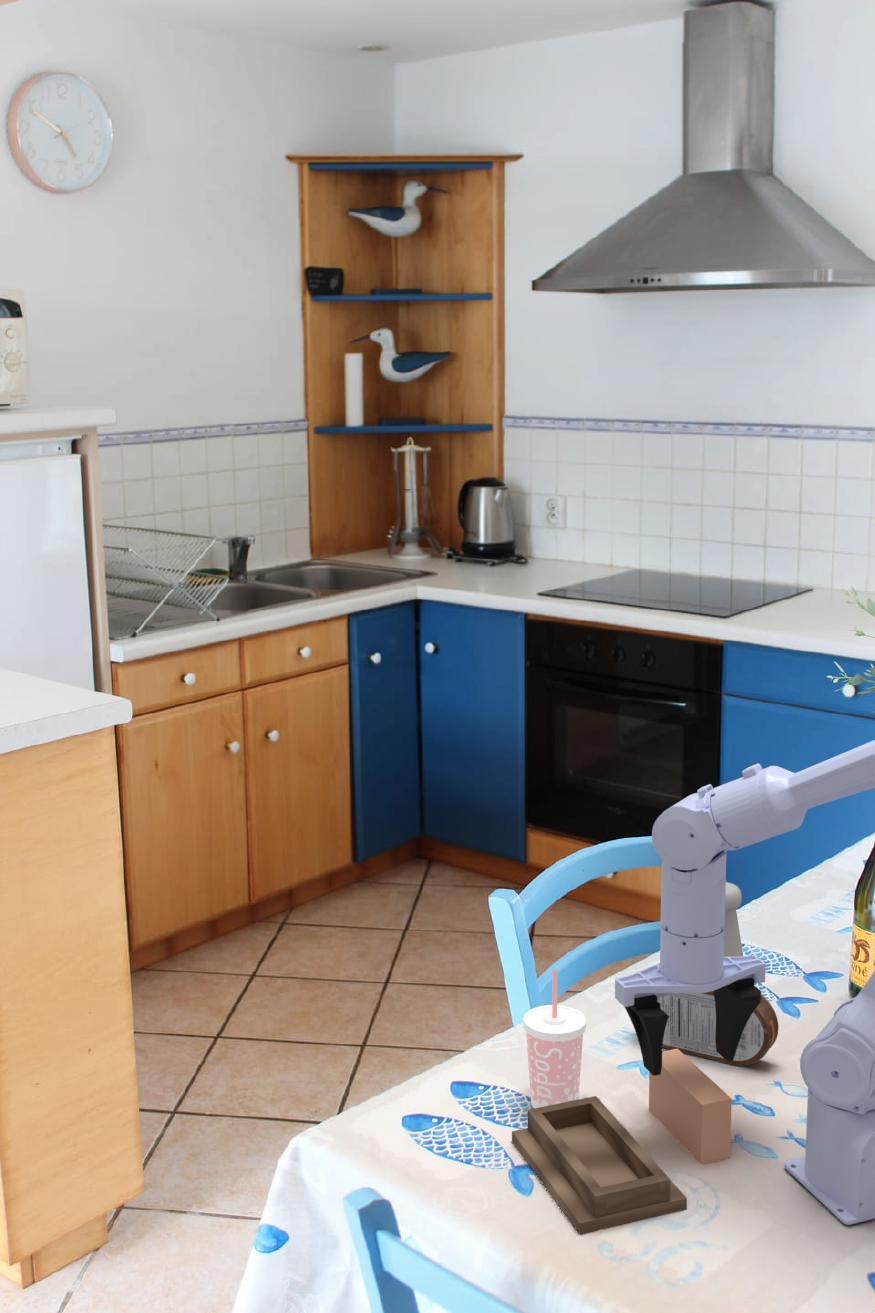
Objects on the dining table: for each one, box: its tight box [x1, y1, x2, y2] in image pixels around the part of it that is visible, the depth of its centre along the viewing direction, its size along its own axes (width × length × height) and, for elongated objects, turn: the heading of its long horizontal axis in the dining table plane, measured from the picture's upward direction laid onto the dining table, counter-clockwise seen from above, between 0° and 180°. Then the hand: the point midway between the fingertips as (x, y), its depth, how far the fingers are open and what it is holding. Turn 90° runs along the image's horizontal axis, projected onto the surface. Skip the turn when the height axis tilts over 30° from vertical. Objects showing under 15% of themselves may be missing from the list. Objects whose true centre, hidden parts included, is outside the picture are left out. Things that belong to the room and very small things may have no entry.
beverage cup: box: [522, 969, 587, 1109], centre depth 132 cm, size 6×6×14 cm
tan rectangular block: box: [648, 1049, 733, 1165], centre depth 127 cm, size 10×3×6 cm, turn 19°
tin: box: [657, 991, 779, 1067], centre depth 142 cm, size 15×3×8 cm, turn 60°
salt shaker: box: [724, 881, 744, 957], centre depth 156 cm, size 6×6×13 cm
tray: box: [511, 1095, 688, 1235], centre depth 121 cm, size 15×10×3 cm, turn 19°
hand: (688, 1063), depth 127 cm, fingers open, 7 cm apart
